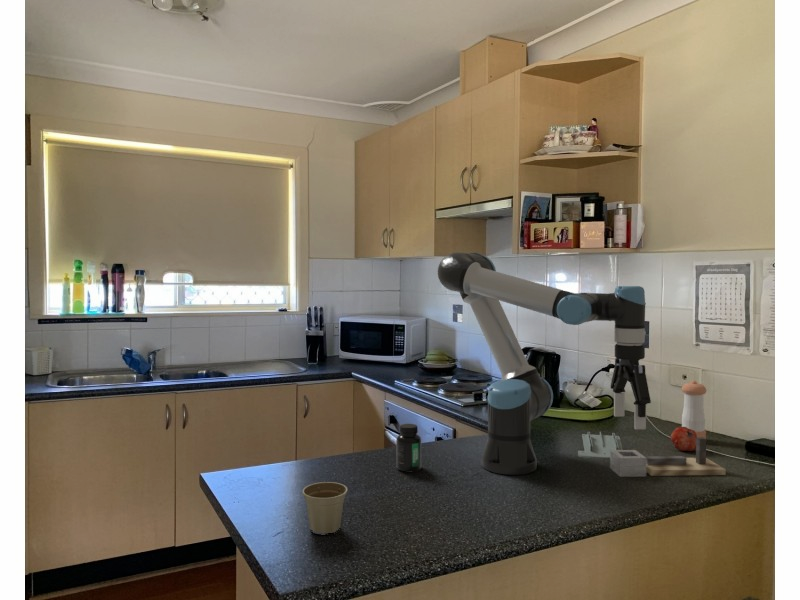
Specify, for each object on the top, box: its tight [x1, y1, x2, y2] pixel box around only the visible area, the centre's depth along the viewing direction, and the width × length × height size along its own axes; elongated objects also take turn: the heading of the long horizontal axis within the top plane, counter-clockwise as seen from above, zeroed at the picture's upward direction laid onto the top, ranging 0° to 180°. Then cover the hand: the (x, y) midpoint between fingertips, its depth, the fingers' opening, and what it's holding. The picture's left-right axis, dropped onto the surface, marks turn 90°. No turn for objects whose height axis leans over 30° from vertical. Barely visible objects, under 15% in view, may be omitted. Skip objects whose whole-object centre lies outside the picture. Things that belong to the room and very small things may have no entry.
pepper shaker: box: [681, 380, 707, 440], centre depth 188 cm, size 7×7×19 cm
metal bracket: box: [577, 431, 624, 459], centre depth 177 cm, size 14×6×15 cm
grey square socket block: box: [609, 449, 647, 478], centre depth 159 cm, size 7×7×5 cm
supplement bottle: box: [395, 423, 422, 472], centre depth 162 cm, size 7×7×12 cm
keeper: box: [644, 437, 727, 477], centre depth 161 cm, size 20×10×8 cm, turn 91°
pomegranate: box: [670, 426, 697, 452], centre depth 178 cm, size 7×7×10 cm
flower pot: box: [302, 481, 349, 533], centre depth 124 cm, size 9×9×9 cm
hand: (629, 422), depth 158 cm, fingers open, 13 cm apart
